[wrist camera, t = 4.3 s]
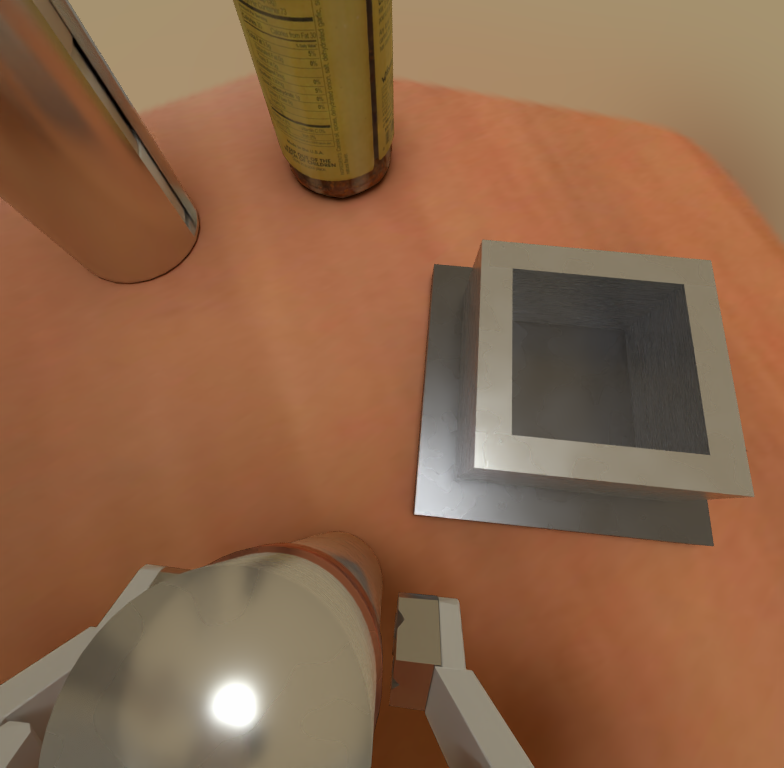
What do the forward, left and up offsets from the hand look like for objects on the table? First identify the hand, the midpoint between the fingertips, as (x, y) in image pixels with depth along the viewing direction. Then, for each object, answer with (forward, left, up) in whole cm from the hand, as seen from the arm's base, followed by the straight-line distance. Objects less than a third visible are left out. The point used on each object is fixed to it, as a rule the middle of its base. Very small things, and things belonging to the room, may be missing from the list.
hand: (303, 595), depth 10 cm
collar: (+9, +8, -7) cm, 14 cm away
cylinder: (0, -1, -7) cm, 7 cm away
